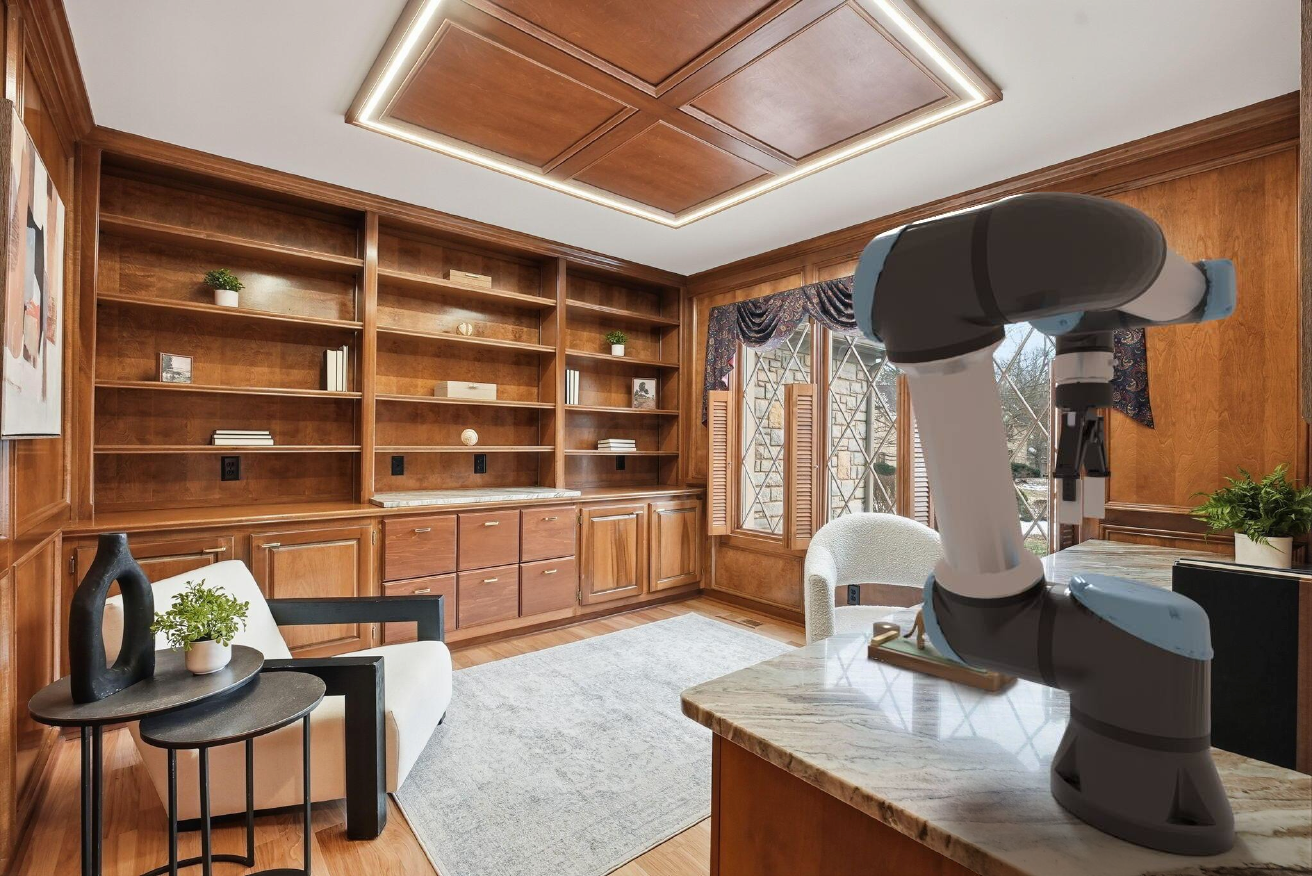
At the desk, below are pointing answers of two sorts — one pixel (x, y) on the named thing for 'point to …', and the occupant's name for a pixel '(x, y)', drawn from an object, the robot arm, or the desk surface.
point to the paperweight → (884, 628)
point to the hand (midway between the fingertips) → (1082, 520)
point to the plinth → (931, 661)
